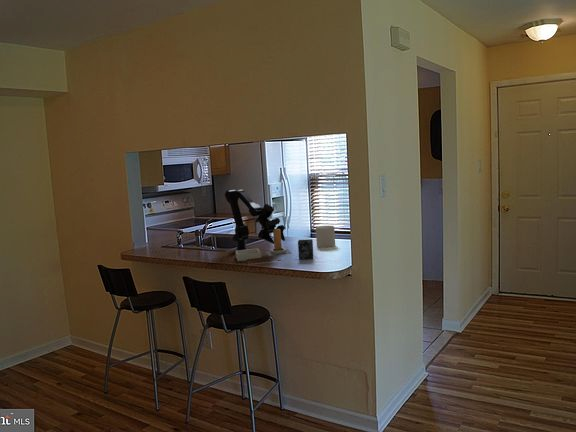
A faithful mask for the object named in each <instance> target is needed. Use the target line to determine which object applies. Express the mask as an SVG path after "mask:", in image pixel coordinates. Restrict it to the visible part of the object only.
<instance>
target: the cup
mask: <svg viewBox="0 0 576 432" xmlns="http://www.w3.org/2000/svg"><path fill="white" fill-rule="evenodd" d="M335 232H336V231H335V226H333V225H320V226H316V227H315V239H316V240H315V241H316V247H317V248H333V247H335V246H336V237H335V236H336V235H335Z"/></svg>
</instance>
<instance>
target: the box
mask: <svg viewBox="0 0 576 432" xmlns="http://www.w3.org/2000/svg"><path fill="white" fill-rule="evenodd" d="M313 243H314V241H313V239H312V238H311V239H298V240H297V249H298V260H313V258H314V244H313Z"/></svg>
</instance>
